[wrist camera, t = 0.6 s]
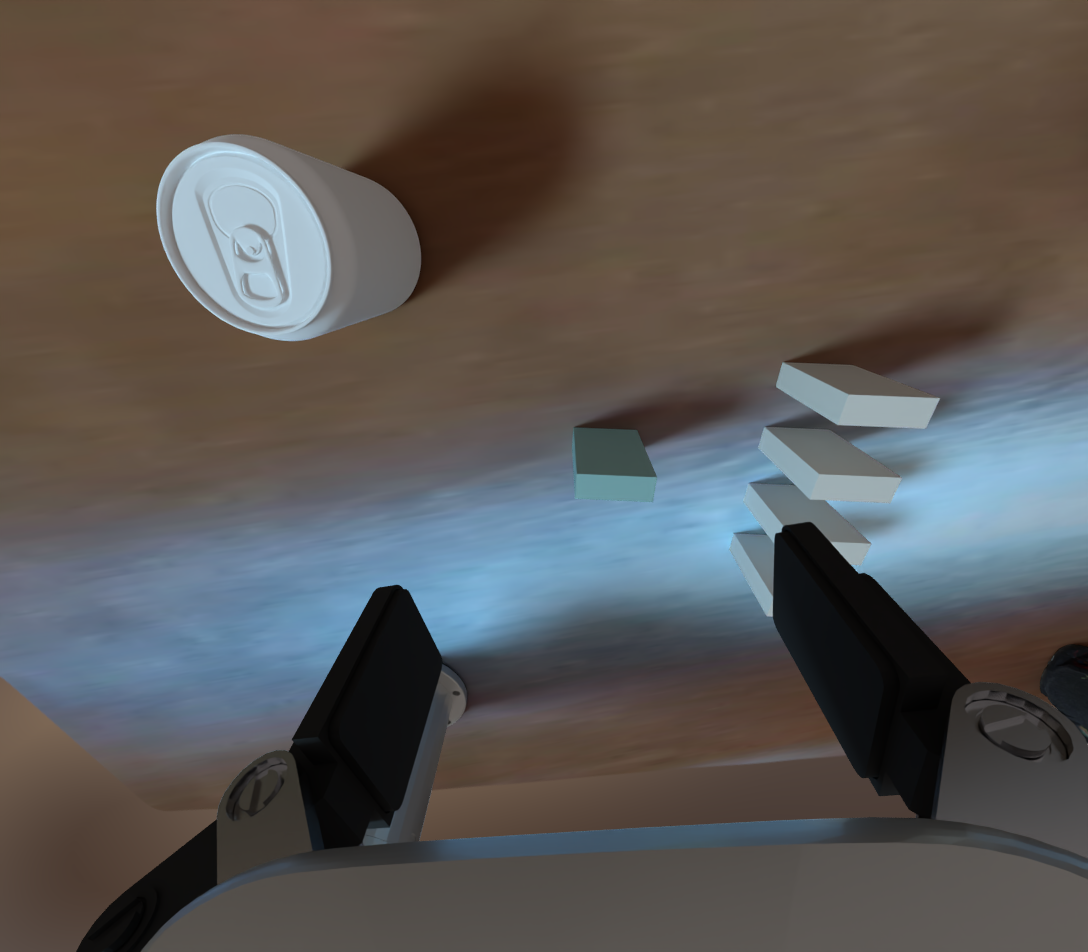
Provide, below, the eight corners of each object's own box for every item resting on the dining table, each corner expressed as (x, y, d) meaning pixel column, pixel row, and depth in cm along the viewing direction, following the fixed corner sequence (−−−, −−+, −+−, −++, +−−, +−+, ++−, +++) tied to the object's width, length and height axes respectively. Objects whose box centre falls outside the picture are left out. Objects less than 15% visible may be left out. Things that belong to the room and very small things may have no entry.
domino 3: (843, 389, 32) (925, 428, 24) (775, 386, 32) (837, 424, 25) (852, 365, 31) (940, 398, 24) (782, 362, 31) (848, 394, 24)
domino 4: (821, 450, 34) (890, 503, 27) (758, 448, 34) (809, 499, 27) (829, 429, 33) (902, 477, 26) (764, 426, 33) (819, 474, 26)
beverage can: (417, 178, 26) (321, 128, 16) (429, 316, 30) (357, 350, 20) (289, 173, 27) (108, 120, 16) (316, 311, 30) (184, 343, 20)
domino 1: (633, 450, 34) (652, 501, 27) (572, 448, 35) (574, 498, 27) (637, 430, 34) (657, 477, 27) (573, 427, 34) (576, 473, 27)
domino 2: (784, 552, 38) (835, 619, 31) (729, 549, 39) (766, 616, 32) (790, 535, 38) (843, 601, 31) (733, 533, 38) (773, 598, 31)
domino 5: (802, 504, 36) (861, 565, 29) (743, 501, 36) (787, 561, 29) (809, 485, 35) (871, 543, 28) (748, 482, 35) (795, 540, 28)
